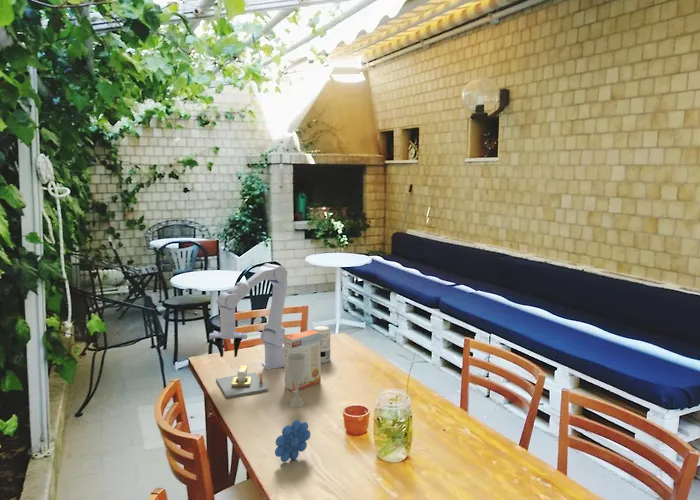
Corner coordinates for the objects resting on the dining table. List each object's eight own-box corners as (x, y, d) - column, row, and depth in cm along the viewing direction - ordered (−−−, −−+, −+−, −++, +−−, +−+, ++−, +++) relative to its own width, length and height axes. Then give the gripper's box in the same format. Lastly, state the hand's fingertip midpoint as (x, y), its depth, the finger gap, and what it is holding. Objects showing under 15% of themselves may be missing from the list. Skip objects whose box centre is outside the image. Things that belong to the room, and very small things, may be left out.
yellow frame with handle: (250, 386, 210) (249, 377, 209) (231, 386, 209) (231, 377, 208) (252, 373, 222) (252, 365, 221) (235, 374, 221) (234, 365, 221)
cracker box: (311, 378, 221) (311, 328, 218) (321, 382, 217) (321, 332, 214) (283, 387, 212) (283, 335, 209) (292, 392, 208) (292, 339, 204)
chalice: (302, 409, 193) (302, 360, 191) (284, 407, 195) (284, 359, 192) (308, 400, 201) (308, 353, 198) (290, 398, 202) (290, 352, 199)
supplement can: (309, 362, 239) (309, 329, 236) (315, 356, 246) (315, 324, 244) (326, 364, 236) (326, 331, 234) (332, 358, 244) (332, 326, 242)
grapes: (303, 447, 167) (302, 410, 166) (314, 457, 162) (314, 419, 160) (268, 458, 161) (268, 420, 159) (279, 469, 155) (278, 430, 154)
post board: (255, 374, 224) (255, 360, 224) (268, 391, 208) (268, 376, 208) (216, 380, 218) (215, 366, 217) (226, 398, 202) (226, 383, 201)
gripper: (206, 326, 210) (208, 359, 212) (244, 326, 210) (245, 359, 212) (211, 320, 217) (212, 353, 219) (247, 320, 217) (248, 353, 219)
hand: (228, 356), depth 216 cm, fingers open, 5 cm apart
